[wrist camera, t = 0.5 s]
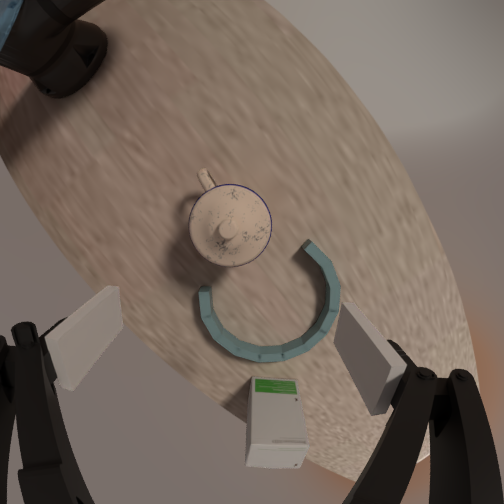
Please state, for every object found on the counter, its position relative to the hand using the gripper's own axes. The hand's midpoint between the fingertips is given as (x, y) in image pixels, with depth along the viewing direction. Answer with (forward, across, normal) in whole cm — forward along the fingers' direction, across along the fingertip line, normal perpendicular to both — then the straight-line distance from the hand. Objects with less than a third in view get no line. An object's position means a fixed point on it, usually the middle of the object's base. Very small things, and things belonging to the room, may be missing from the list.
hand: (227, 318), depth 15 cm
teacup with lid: (+25, -2, +4) cm, 25 cm away
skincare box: (+24, +7, -26) cm, 37 cm away
